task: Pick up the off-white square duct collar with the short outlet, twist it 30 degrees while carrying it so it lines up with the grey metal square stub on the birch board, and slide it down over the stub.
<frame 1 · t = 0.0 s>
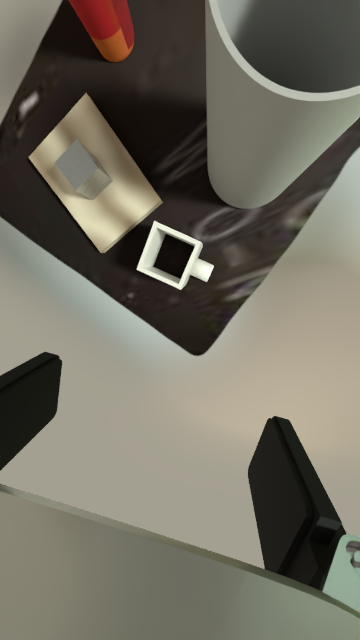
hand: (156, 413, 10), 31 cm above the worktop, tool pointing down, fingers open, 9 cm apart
cylinder vase: (249, 165, 34), on the worktop
duct collar: (175, 257, 39), on the worktop
paper cup: (115, 40, 33), on the worktop
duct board: (98, 181, 37), on the worktop
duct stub: (85, 172, 34), on the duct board, point 4 cm above the worktop
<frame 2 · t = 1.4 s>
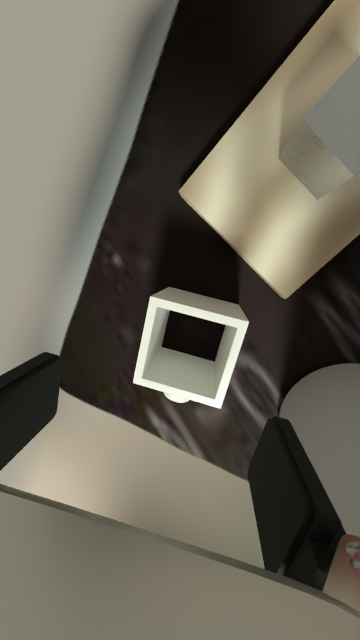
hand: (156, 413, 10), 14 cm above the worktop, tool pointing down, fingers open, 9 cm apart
cylinder vase: (340, 415, 24), on the worktop
duct collar: (194, 328, 24), on the worktop
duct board: (313, 163, 19), on the worktop
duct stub: (339, 136, 15), on the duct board, point 4 cm above the worktop
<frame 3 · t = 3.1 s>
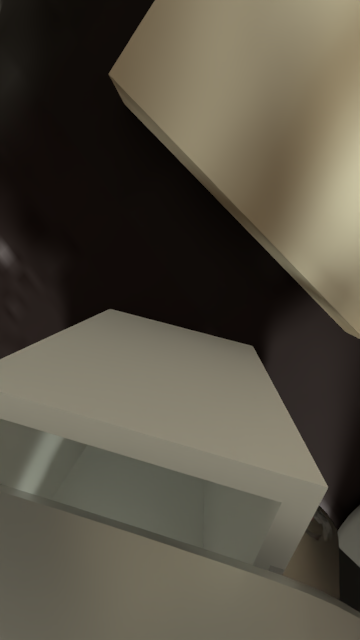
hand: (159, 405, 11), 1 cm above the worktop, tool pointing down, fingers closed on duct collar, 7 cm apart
duct collar: (164, 390, 12), on the worktop, touching gripper
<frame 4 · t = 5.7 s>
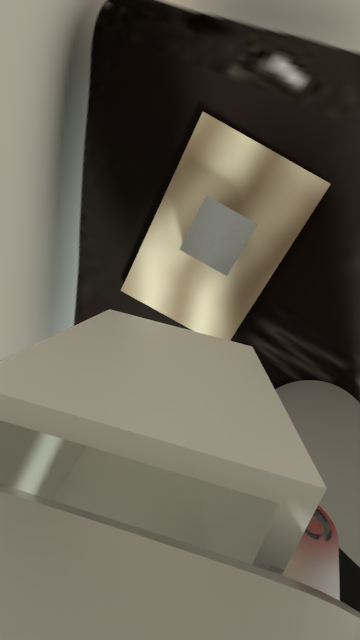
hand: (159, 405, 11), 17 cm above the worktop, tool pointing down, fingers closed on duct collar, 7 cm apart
cylinder vase: (303, 422, 28), on the worktop
duct collar: (164, 391, 12), point 15 cm above the worktop, touching gripper
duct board: (214, 243, 24), on the worktop
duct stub: (216, 240, 20), on the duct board, point 4 cm above the worktop
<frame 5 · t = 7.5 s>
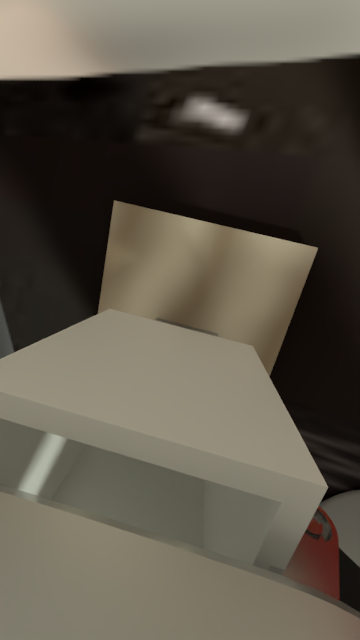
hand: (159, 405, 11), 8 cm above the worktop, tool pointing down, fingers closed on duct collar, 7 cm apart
duct collar: (164, 390, 12), point 7 cm above the worktop, touching gripper
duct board: (182, 346, 18), on the worktop
when the fingers open (4 cm above the worktop, at t = 8.8 s): duct collar stays where it is, resting on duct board.
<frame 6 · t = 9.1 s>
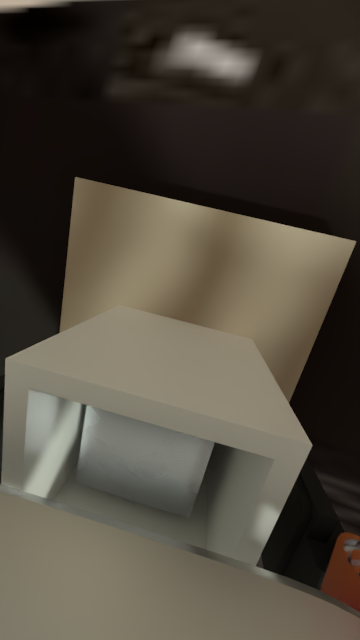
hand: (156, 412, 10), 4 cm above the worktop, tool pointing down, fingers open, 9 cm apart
duct collar: (170, 381, 13), point 1 cm above the worktop, touching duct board
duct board: (171, 369, 14), on the worktop
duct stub: (158, 408, 10), on the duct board, point 4 cm above the worktop
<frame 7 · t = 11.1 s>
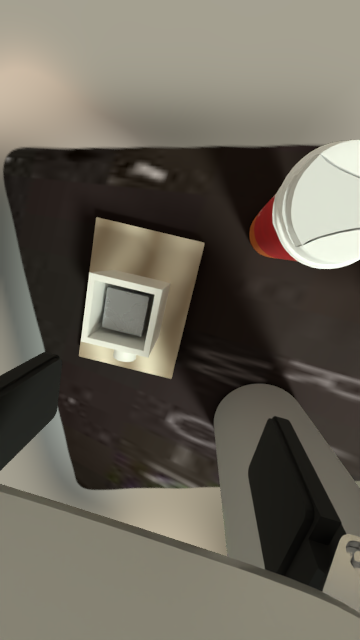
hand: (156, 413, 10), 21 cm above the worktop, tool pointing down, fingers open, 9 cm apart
cylinder vase: (256, 418, 34), on the worktop
duct collar: (137, 303, 29), point 1 cm above the worktop, touching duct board
paper cup: (271, 232, 28), on the worktop
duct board: (139, 302, 31), on the worktop
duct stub: (131, 307, 27), on the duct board, point 4 cm above the worktop
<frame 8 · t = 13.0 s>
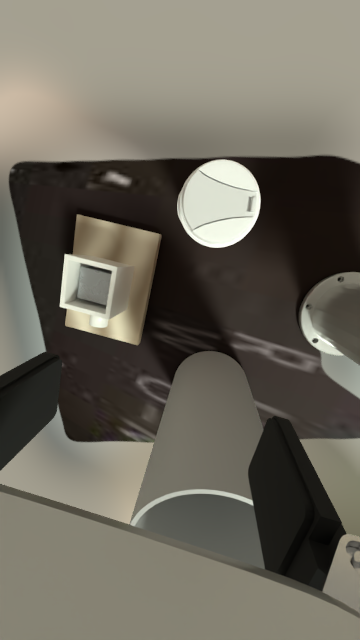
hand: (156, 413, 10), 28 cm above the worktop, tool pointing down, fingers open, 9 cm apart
cylinder vase: (209, 382, 41), on the worktop
duct collar: (109, 283, 37), point 1 cm above the worktop, touching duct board
paper cup: (214, 226, 34), on the worktop
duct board: (112, 282, 38), on the worktop
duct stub: (101, 284, 34), on the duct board, point 4 cm above the worktop
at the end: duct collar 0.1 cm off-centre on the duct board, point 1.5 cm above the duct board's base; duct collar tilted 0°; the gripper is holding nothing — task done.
